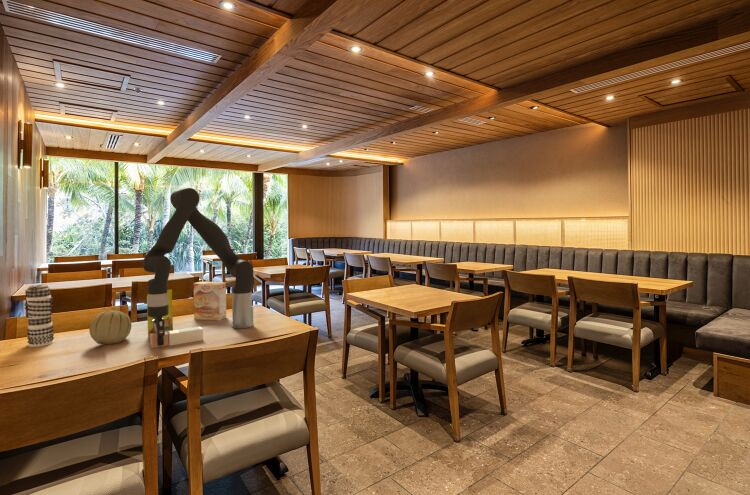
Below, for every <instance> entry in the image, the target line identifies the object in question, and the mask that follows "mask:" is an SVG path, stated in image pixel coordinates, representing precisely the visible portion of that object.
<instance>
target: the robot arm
mask: <svg viewBox="0 0 750 495" xmlns="http://www.w3.org/2000/svg"><path fill="white" fill-rule="evenodd" d="M169 200H170V204H171V205H172V207H173V208H174V209H175V211H174V213H173V214H172V216H171V218H170V219H169V220H168V221H167V222H166V224H165V225H164V226H163V228H162V229H161V231H160V232H159V236H158V238H157V239H156V242H155V244H154V245H153V246H152V247H151V248H150V250H149V251H148V252H147V254H146V255H145V256H144V257H143V260H142V268H143V270H144V271H145V272H148V273H154V277H153V278H151V279H148V281H147V295H148V297H147V296H146V309H147V308H148V316H149V317H153V320H152V322H153V329H154V333H157V345H158V346H162V345H164V336H165V326H164V324H165V321H164V319H163V318H162V317H163V316H166V315H168V314H169V308H168V294H167V290H168V280H169V277H170V274H171V269H172V263H171V260H170V259H169V258H168V257H167V256H166V255H167V254H171V253H172V252H173V251H174V249H175V247H176V245H177V242H178V241H179V238H180V235H181V233H182V231H183V229H184V227H185V226H186V224H187V222H188V223H189V224H190V225H191V226H192V228H193V229H194V231H195V232H196V233H197V234H198V235H199V236H200V238H201V239H202V240H203V241H204V242H205V244H206V245H207V246H208V247H209V248H210V249H211V250H212V252H213V253H214V254H215V255H216V256H217V257H218V259H220V261H221V262H222V263H223V265H224V266H225V268H226V270H227V271H228V273H229V274H230V276H232V277H234V278H235V282H234V285H233V286H232V287H231V304H232V305H231V307H232V309H231V311H232V315H231V316H232V328H233V329H247V328H250V327H251V328H252V327H253V326H254V306H253V302H252V300H253V299H252V297H253V296H252V295H253V294H252V292H253V291H252V290H253V286H254V266H253V264H252V263H251V262H250V261H249V260H245V259H241V258H240V256H238V255H237V254H236V253H235V251H233V249H232V247H231V244H230V241H229V238H228V237H227V235H226V233H225V232H224V231H223V230H222V228H221V227H220V226H219V225H218V224H217V223H215V222H214V221H213V220H211V219H210V218H208V217H207V216H205V215H204V214H202V213H201V211H199V208H197V207H198V205H199V203H200V194H199V193H198V191H197V190H196V189H194V188H192V187H184V188H180V189H177V190H174V191H173V192H172V193H171V194H170V197H169ZM161 331H162V333H159V332H161Z"/></svg>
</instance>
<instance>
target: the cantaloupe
mask: <svg viewBox="0 0 750 495" xmlns="http://www.w3.org/2000/svg"><path fill="white" fill-rule="evenodd" d="M131 330H132V320H131V318H130V317H129V315H128V314H126V313H125V312H123V311H121V310H116V308H115V307H113V308H112V310H111V309H109V310H104V311H101V312H100V313H98V314H96V315H95V316H94V317H93V319H92V321H91V322H90V324H89V330H88V331H89V335H90V337H91V338H92V341H94V342H95V343H97V344H99V345H103V346H106V345H112V344H113V345H114V344H118V343H122V342H123V341H124V340H126V339H127V338H128V336H129V335H130V334H131Z"/></svg>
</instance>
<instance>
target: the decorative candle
mask: <svg viewBox="0 0 750 495" xmlns="http://www.w3.org/2000/svg"><path fill="white" fill-rule="evenodd" d="M24 290H25V291H26V299H25V300H26V302H25V303H24V306H25V307H24V310H26V311H25V318H26V319H27V321H28V324H27V329H26V331H27V333H26V335H27V343H28V345H27V346H28V347H29V348H34V347H35V348H37V347H44V346H48V345H51V344H53V343H54V342H55V340H54V339H55V333H54V327H55V326H54V325H53V320H52V316H53V315H54V314H53V312H51V311H53V310H54V308H52V307H54V305H53V304H52V303H53V302H54V300H53V298H54V296H52V294H51V287H49V286H48V285H47V284H32V285H29V286H28V287H27V289H24Z"/></svg>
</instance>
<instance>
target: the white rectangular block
mask: <svg viewBox="0 0 750 495" xmlns="http://www.w3.org/2000/svg"><path fill="white" fill-rule="evenodd" d="M167 333H168V340H169V346H174V345H181V344H187V343H192V342H198V341H204V329H203V327H201V326H191V327H187V328H186V327H185V328H181V329H173V330H172V331H167ZM169 346H168V347H169Z"/></svg>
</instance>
